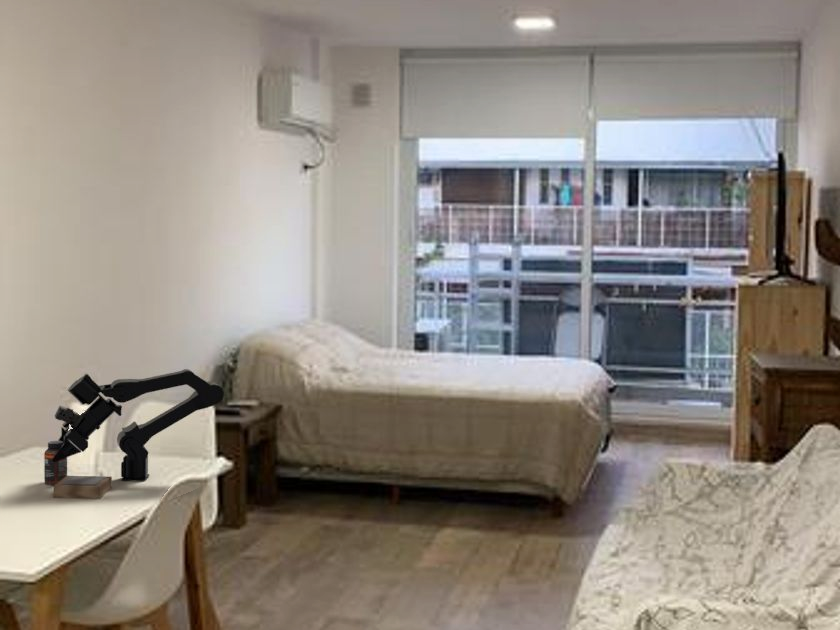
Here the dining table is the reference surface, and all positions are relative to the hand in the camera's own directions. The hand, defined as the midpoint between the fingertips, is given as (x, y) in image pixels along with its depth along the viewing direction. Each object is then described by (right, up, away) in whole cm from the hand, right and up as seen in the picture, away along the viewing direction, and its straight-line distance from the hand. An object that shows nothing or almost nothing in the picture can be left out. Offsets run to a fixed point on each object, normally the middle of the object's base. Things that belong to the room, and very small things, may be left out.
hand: (52, 457), depth 304 cm
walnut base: (+11, -8, -9) cm, 16 cm away
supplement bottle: (+1, -7, +1) cm, 7 cm away
